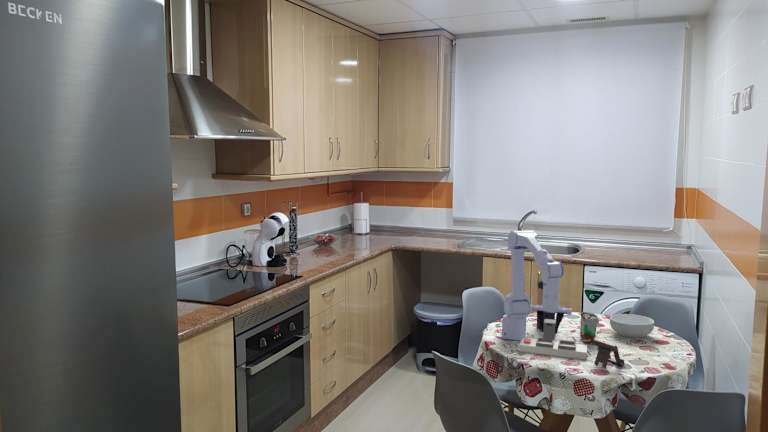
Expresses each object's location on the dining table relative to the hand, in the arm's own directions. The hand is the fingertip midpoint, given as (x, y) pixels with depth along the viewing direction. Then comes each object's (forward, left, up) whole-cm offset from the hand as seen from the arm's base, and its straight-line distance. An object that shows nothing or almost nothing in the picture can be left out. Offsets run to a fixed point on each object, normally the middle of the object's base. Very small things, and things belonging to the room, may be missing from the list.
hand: (549, 332), depth 214 cm
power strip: (+1, +10, -10) cm, 14 cm away
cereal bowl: (+30, +42, -10) cm, 53 cm away
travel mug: (-4, +40, -10) cm, 42 cm away
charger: (0, 0, -2) cm, 2 cm away
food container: (+14, +29, -10) cm, 34 cm away
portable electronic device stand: (+20, +3, -11) cm, 23 cm away
